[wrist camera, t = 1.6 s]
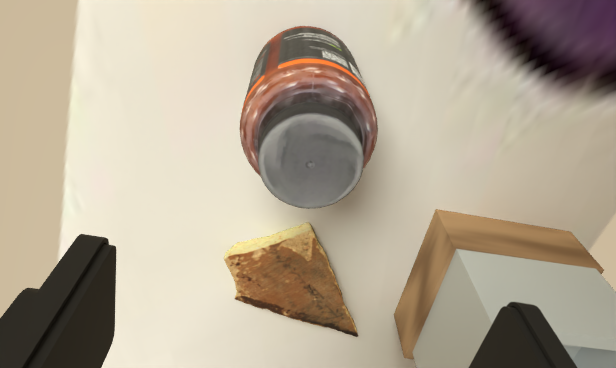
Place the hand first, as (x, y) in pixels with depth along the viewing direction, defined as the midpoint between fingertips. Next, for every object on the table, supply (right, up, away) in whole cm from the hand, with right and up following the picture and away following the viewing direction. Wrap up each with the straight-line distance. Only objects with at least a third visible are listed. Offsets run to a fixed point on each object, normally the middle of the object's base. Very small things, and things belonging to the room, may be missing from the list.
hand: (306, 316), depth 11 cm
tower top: (+13, -5, +20) cm, 24 cm away
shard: (0, -3, +24) cm, 24 cm away
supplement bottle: (0, +9, +16) cm, 19 cm away
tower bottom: (+13, -4, +24) cm, 27 cm away
